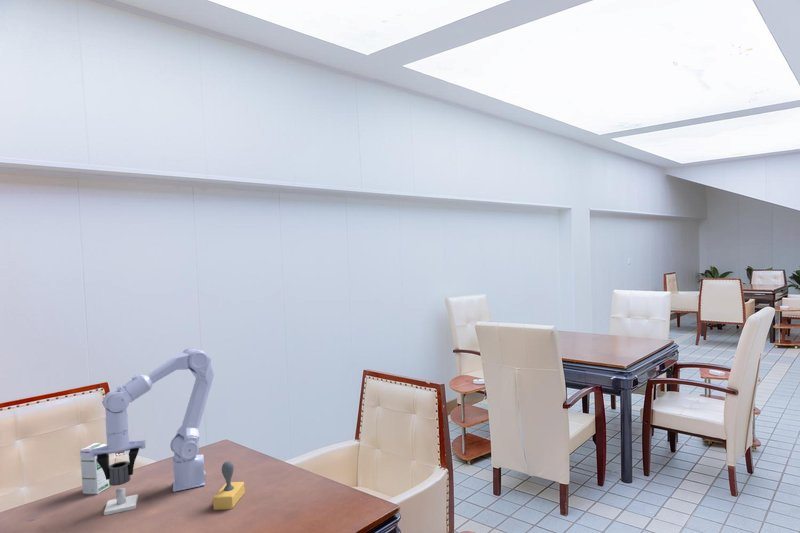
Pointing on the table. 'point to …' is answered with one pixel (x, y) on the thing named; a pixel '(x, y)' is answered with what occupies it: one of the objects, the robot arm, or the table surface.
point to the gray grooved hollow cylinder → (119, 473)
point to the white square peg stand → (121, 502)
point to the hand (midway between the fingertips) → (119, 476)
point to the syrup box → (92, 471)
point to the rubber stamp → (228, 490)
